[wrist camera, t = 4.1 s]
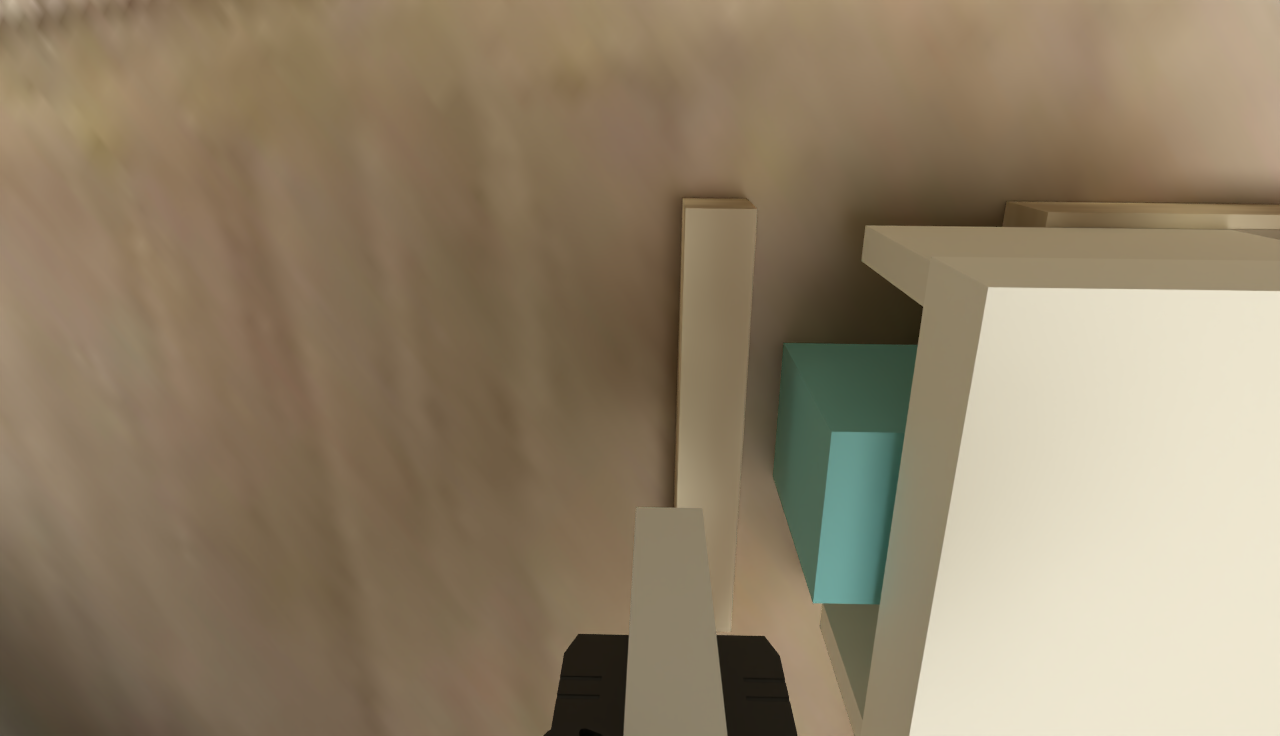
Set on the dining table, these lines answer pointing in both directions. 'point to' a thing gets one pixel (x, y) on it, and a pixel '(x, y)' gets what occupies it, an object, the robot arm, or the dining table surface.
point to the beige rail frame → (722, 331)
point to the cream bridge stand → (1078, 489)
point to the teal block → (842, 461)
